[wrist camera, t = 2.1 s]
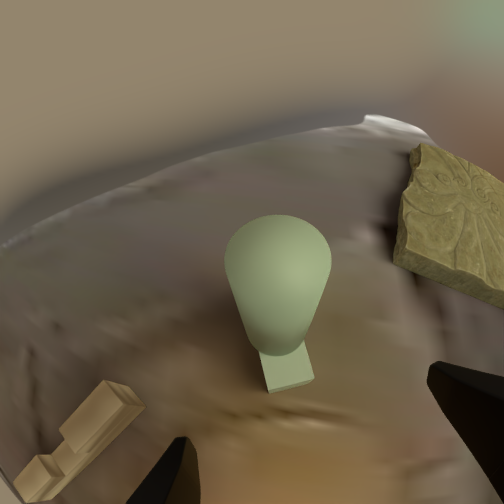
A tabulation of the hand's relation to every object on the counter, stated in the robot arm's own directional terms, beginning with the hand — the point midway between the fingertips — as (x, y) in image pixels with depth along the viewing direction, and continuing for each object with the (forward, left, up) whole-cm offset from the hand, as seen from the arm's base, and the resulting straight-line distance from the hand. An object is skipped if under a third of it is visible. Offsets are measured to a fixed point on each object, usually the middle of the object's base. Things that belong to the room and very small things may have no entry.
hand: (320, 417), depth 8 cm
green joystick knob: (+5, -2, -12) cm, 14 cm away
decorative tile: (+1, -28, -13) cm, 31 cm away
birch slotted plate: (+5, +19, -12) cm, 23 cm away
